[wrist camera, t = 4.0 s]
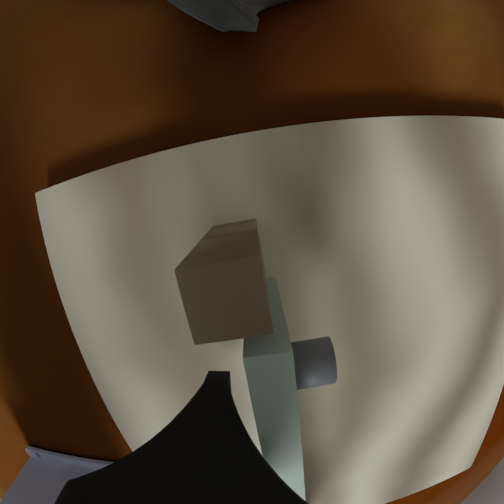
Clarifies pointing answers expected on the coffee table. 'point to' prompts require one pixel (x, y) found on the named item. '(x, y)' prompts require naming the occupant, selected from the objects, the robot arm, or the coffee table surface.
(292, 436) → the door
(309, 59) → the coffee table surface
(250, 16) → the salad plate
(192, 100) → the coffee table surface
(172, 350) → the door frame board
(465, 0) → the coffee table surface
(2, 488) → the coffee table surface
